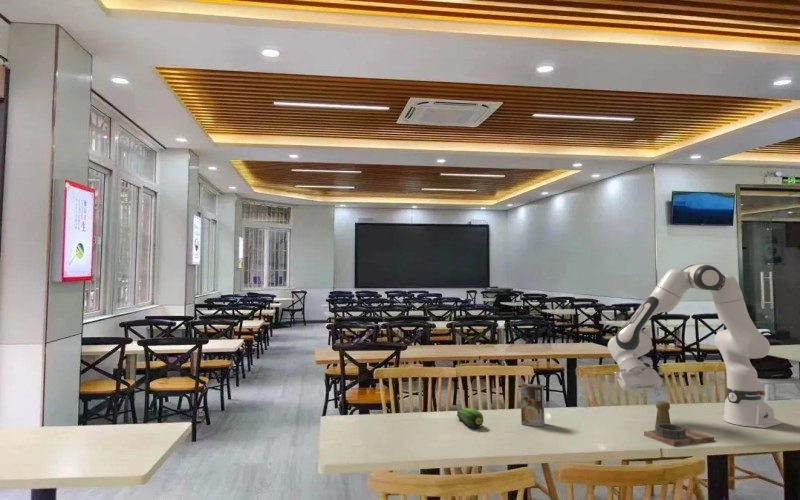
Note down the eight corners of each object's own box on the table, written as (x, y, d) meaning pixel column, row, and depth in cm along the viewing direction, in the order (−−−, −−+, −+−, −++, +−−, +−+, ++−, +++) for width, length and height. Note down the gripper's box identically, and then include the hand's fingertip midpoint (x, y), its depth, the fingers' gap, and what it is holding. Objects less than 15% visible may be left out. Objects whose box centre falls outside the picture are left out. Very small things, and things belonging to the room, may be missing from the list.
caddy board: (683, 430, 210) (682, 419, 210) (714, 440, 197) (713, 428, 197) (644, 435, 203) (643, 423, 204) (673, 446, 190) (673, 433, 190)
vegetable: (473, 409, 210) (456, 398, 230) (466, 425, 209) (449, 414, 228) (489, 416, 212) (470, 405, 231) (481, 433, 210) (463, 420, 230)
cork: (673, 431, 210) (673, 403, 210) (657, 430, 211) (656, 402, 211) (669, 426, 215) (668, 400, 216) (653, 426, 217) (652, 399, 217)
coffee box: (545, 423, 220) (544, 384, 221) (543, 427, 215) (542, 387, 215) (523, 420, 224) (522, 383, 225) (520, 424, 218) (520, 385, 219)
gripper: (616, 366, 224) (634, 393, 215) (653, 363, 231) (672, 390, 221) (609, 374, 228) (626, 402, 219) (646, 372, 235) (664, 398, 225)
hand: (649, 396), depth 220 cm, fingers open, 8 cm apart
